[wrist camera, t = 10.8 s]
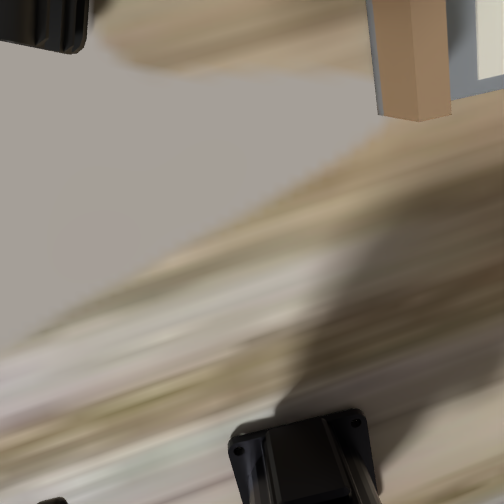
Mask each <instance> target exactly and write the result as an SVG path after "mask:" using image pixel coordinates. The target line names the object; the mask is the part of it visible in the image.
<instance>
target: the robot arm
mask: <svg viewBox="0 0 504 504" xmlns="http://www.w3.org/2000/svg"><path fill="white" fill-rule="evenodd" d="M354 419H357V421H355V422H351V421H352V420H354ZM237 447H242V448H241V449H235V448H237ZM228 454H229V458H230V461H231V465H232V468H233V471H234V475H235V478H236V482H237V485H238V488H239V492H240V495H241V499H242V502H243V504H382V503H381V501H380V499H379V496H378V493H377V487H376V480H375V473H374V467H373V460H372V453H371V447H370V440H369V433H368V427H367V420H366V418H365V416H364V414H363V412H362V411H361V410H360V409H349V410H345V411H341V412H337V413H332V414H328V415H324V416H320V417H316V418H312V419H307V420H303V421H299V422H295V423H291V424H287V425H282V426H278V427H274V428H270V429H266V430H262V431H257V432H253V433H249V434H245V435H241V436H237V437H234V438H232V439H231V440H230V441H229V443H228ZM37 504H68V503H67V501H66V500H65V499H64V498H63V497H57V498H52V499H48V500H44V501H41V502H39V503H37Z"/></svg>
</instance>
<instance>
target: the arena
mask: <svg viewBox="0 0 504 504" xmlns="http://www.w3.org/2000/svg"><path fill="white" fill-rule="evenodd" d="M366 7H367V16H368V26H369V35H370V44H371V54H372V63H373V72H374V82H375V91H376V100H377V110H378V115H382V116H388V117H393V118H399V119H405V120H411V121H416V122H421V121H426V120H430V119H435V118H439V117H443V116H448V115H452V114H451V100H456V99H460V98H465V97H469V96H473V95H478V94H482V93H486V92H491V91H495V90H500V89H504V0H366Z"/></svg>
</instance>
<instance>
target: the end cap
mask: <svg viewBox="0 0 504 504" xmlns="http://www.w3.org/2000/svg"><path fill="white" fill-rule="evenodd" d="M88 10H89V0H0V41H5V42H9V43H15V44H19V45H24V46H30V47H35V48H39V49H44V50H49V51H54V52H59V53H64V54H76V53H78V52H79V51H80V50H82V49H83V48H84V45H85V42H86V39H87V25H88Z"/></svg>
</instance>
